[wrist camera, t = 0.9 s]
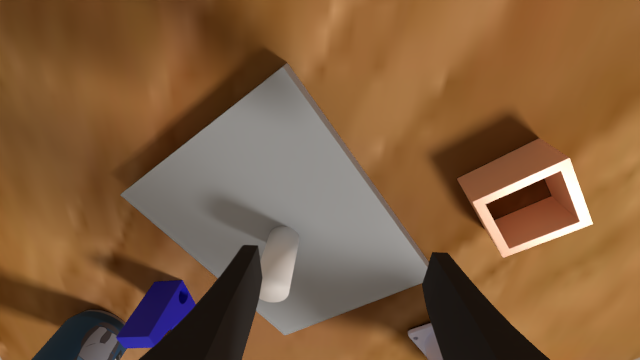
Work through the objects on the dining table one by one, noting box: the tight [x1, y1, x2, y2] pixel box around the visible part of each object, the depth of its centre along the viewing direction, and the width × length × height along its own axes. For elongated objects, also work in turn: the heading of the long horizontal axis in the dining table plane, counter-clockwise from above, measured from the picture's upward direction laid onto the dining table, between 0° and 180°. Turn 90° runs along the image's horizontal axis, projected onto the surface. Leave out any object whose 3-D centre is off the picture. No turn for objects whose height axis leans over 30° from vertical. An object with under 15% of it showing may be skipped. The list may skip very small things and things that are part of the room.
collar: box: [457, 138, 593, 258], centre depth 20 cm, size 6×6×3 cm
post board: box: [120, 63, 429, 335], centre depth 22 cm, size 20×16×6 cm
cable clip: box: [116, 280, 196, 348], centre depth 30 cm, size 12×4×6 cm, turn 9°
